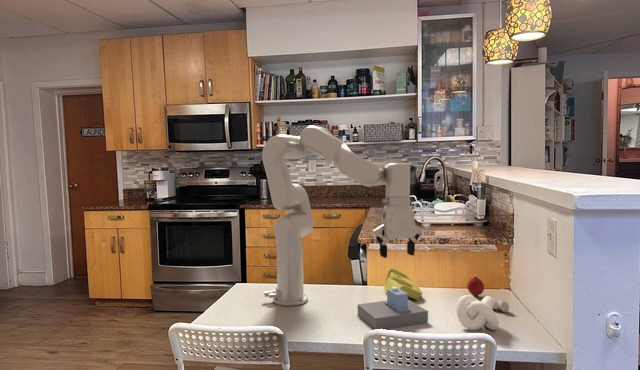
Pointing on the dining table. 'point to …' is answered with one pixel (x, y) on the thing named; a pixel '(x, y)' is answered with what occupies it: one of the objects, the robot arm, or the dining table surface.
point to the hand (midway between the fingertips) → (397, 255)
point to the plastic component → (402, 283)
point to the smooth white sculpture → (500, 305)
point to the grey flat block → (391, 315)
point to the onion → (475, 286)
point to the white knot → (476, 313)
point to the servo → (397, 300)
